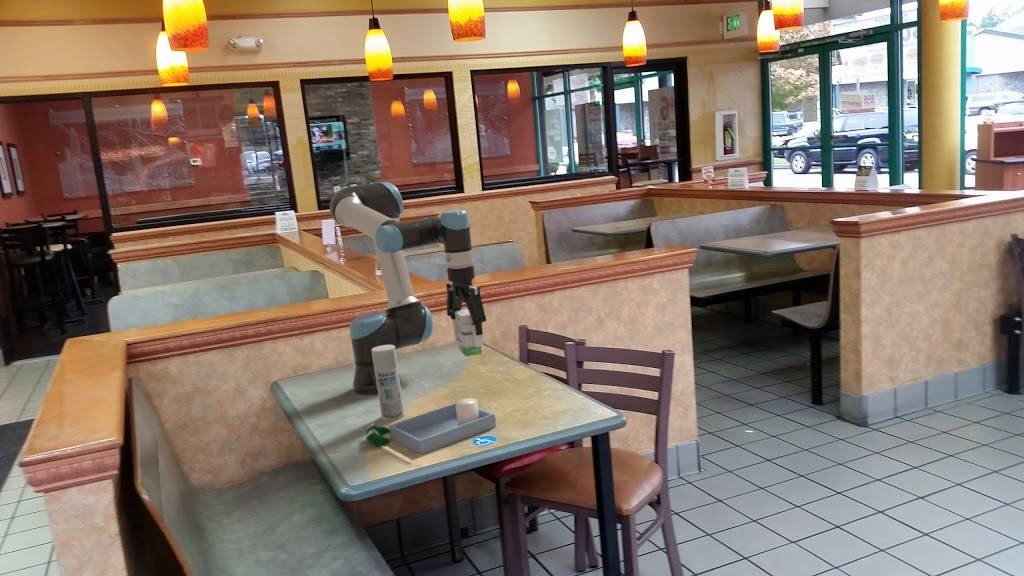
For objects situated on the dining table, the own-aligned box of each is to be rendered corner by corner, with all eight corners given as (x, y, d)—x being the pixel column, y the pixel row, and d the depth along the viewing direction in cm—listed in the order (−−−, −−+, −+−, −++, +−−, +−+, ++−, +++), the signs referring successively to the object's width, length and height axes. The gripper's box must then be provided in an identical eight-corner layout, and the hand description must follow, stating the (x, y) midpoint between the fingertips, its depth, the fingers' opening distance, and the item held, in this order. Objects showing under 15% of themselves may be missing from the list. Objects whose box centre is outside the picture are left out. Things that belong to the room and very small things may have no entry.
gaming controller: (383, 441, 201) (364, 428, 199) (392, 429, 200) (373, 417, 199) (382, 454, 192) (363, 441, 190) (391, 442, 191) (372, 429, 190)
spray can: (404, 411, 217) (394, 343, 213) (405, 418, 210) (395, 348, 207) (381, 414, 216) (371, 346, 212) (381, 422, 209) (371, 352, 206)
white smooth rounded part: (454, 428, 196) (451, 402, 195) (472, 422, 199) (469, 396, 198) (466, 433, 192) (463, 407, 191) (484, 426, 195) (481, 400, 194)
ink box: (482, 354, 214) (477, 313, 212) (465, 357, 213) (460, 316, 210) (475, 347, 222) (470, 307, 220) (458, 350, 221) (453, 310, 218)
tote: (391, 440, 195) (388, 425, 194) (462, 415, 207) (461, 401, 207) (421, 456, 182) (419, 441, 181) (496, 429, 195) (494, 414, 194)
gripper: (428, 265, 219) (438, 340, 223) (470, 271, 201) (479, 352, 206) (450, 260, 223) (459, 334, 228) (493, 266, 206) (502, 346, 210)
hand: (469, 343), depth 217 cm, fingers closed on ink box, 9 cm apart
